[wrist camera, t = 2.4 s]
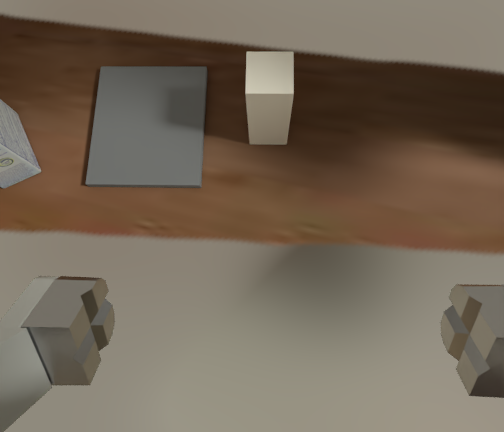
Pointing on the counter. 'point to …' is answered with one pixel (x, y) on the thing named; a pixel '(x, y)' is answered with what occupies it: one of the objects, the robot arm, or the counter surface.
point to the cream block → (269, 96)
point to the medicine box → (14, 149)
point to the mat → (148, 127)
